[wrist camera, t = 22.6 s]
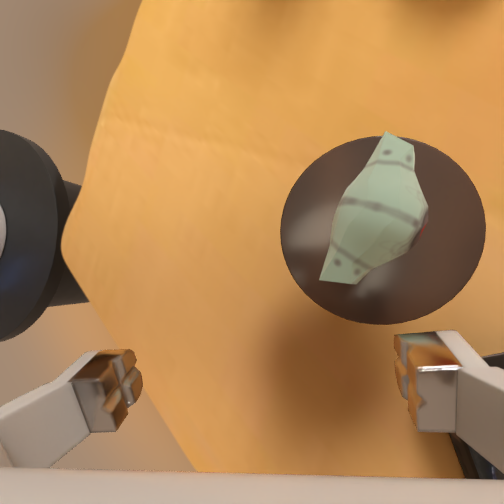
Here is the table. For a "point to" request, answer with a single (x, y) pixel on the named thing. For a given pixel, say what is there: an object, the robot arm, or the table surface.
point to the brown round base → (401, 268)
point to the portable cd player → (468, 457)
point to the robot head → (377, 214)
